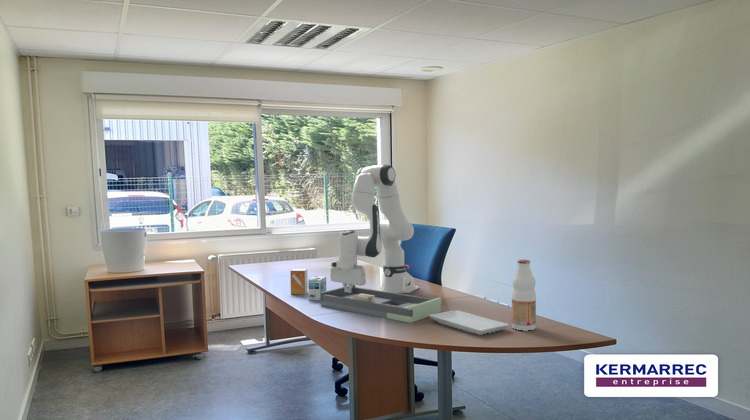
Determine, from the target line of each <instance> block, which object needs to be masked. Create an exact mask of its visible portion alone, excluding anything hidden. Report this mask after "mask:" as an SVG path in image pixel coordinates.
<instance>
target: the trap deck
mask: <svg viewBox="0 0 750 420" xmlns="http://www.w3.org/2000/svg"><path fill="white" fill-rule="evenodd" d="M347 287H348V288H349V286H348V285H347ZM358 294H368V295H374V296H375V303H373V302H367V301H361V300H355V299H354V295H358ZM320 300H321V301H320V306H321V307H325V308H331V309H337V310H341V311H342V310H343V311H347V312H352V313H359V314H364V315H367V316H374V317H378V318H384V319H388V320H389V319H390V320H394V321H400V322H405V323H414V322H416V321H420V320H423V319H425V318H429V315H431V314H437V313H442V297H436V298H430V297H425V296H424V297H423V296H417V295H411V294H406V293H391V292H385V291H381V290H376V289H371V288H370V289H369V288H365V287H360V286H356V285H353V287H352V289H351V293H346V292H345V289H344V287H343V286H342V287H338V288H334V289H333V288H332V289H329V290H326V291H324V292H320Z"/></svg>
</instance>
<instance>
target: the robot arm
mask: <svg viewBox="0 0 750 420" xmlns="http://www.w3.org/2000/svg"><path fill="white" fill-rule="evenodd" d="M396 176H397V175H396V171H395V168H394V167H393V166H392V165H390V164H374V165H370V166H362V167H360V168H358V169H357V171H356V173H355V181H354V184H353V188H352V193H351V205H352V207H353V208H354V210H356V211H358V212H359V213H361V214H363V215H366V216H367V217H368V219H369V233H370V234H369V235H368V236H366V235H365V236H362V235H357V232H356V230H354V229H346V230H343V231H341V232H340V234H339V238H338V252H339V256H338V260H335V261H331V263H330V267H331V269H330V273H329V274H330V276H329V277H330V281H332V282H334V283H342V287H344V289H345V292H346V293H351V289H352V287H353V285H355V286H358V287H361V286H364V285H366V284H367V283H366V282H367V281H366V279H367V278H366V272H365V271H366V270H365V267H363V265H358V257H359V256H360V257H368V258H376V257H377V256H379V254H381V253H382V251H383V266H382V271H383V274H382V278H381V279H382V280H381V287H380V291H385V292H391V293H398V294H409V293H412V292H413V291H416V290H418V289H419V287H420V286H418V285H415V278H414V277H413V276H412V275H411V274H410V273H409V272H408V271H407V270H408V269H410V266H409V264H405V250H404V249H403V248H402V247H401V245H400V243H399V241H400V242H403V241H409V240H411V239H412V238H413V236H414V234H415V228H414V226H413V224H412V223H411V222H410V221H409V220H408V218H407V217H406V216H405V214H404V212H403V209H402V207H401V202H400V197H399V190H398V186H397V183H396ZM375 187H376V188H375ZM375 189H376V190H377V191H376V193H377V194H376V195H377V199H378V205H379V207H378V205H376V203H375ZM379 210H380V211H379ZM380 212H381V213H382V214H383V216H384V217H385V218H386V219H380ZM347 286H349V288H348V287H347Z"/></svg>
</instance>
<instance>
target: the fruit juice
mask: <svg viewBox="0 0 750 420" xmlns="http://www.w3.org/2000/svg"><path fill="white" fill-rule="evenodd" d="M517 265H518V266H517V268H516V271H515V274H514V276H513V278H512V279H511V280H512V281H511V284H512V288H513V289H512V293H511V328H512V329H513V328H514V329H513V330H515V329H517V330H516V331H518V330H523V331H522V332H529V331H528V330H533V331H535V330H536V327H537V326H536V325H537V324H536V323H537V319H536V318H537V316H536V315H537V314H536V313H537V304H536V303H537V297H536V296H537V294H536V291H535V287H536V278H535V277H534V275H533V272H532V271H531V270H532V269H531V260H530V259H518V260H517ZM534 329H535V330H534Z"/></svg>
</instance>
